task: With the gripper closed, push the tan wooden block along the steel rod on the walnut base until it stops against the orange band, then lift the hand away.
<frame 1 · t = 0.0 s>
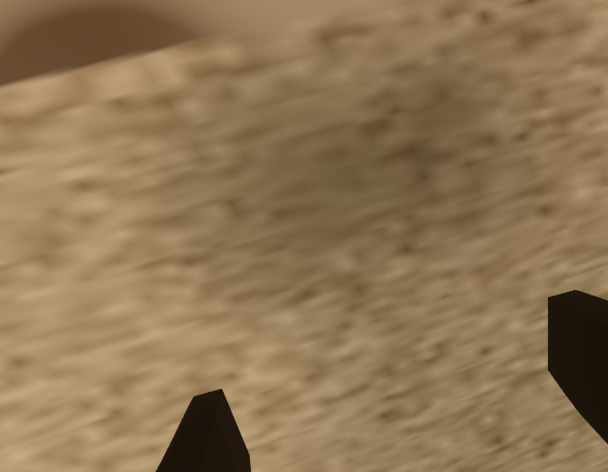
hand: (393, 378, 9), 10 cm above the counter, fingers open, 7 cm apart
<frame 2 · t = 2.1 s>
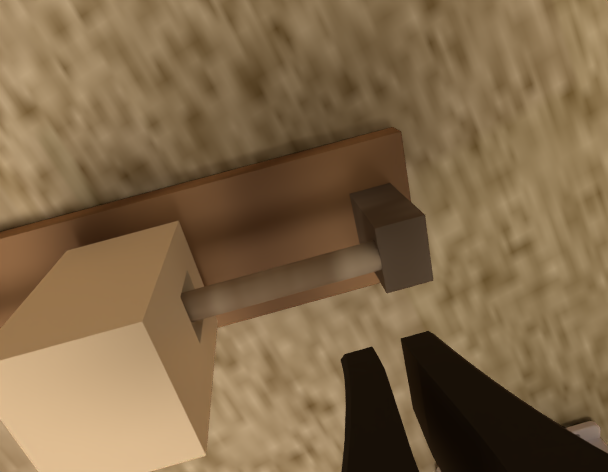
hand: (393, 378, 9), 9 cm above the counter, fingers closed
rod base: (131, 272, 18), on the counter
tan wooden block: (126, 338, 13), point 5 cm above the counter, slide at 0.0 cm
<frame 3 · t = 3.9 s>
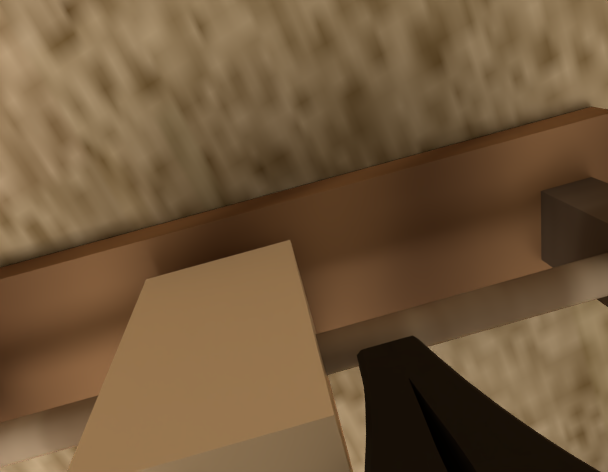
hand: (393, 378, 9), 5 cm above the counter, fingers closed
rod base: (254, 289, 14), on the counter
tan wooden block: (242, 404, 10), point 5 cm above the counter, slide at 1.4 cm, touching gripper
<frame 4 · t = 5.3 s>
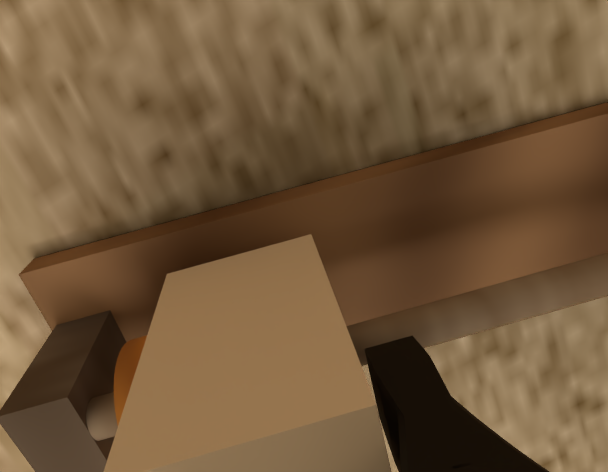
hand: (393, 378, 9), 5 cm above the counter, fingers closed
rod base: (435, 239, 14), on the counter
tan wooden block: (267, 397, 10), point 5 cm above the counter, slide at 7.0 cm, touching gripper, rod base
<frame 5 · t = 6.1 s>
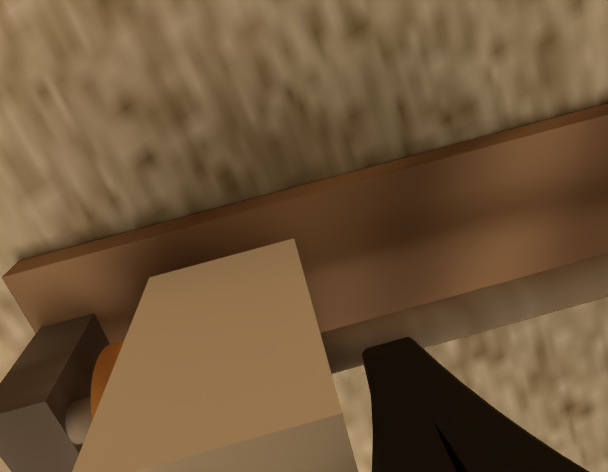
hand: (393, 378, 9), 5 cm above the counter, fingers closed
rod base: (421, 243, 14), on the counter
tan wooden block: (246, 402, 10), point 5 cm above the counter, slide at 7.0 cm, touching gripper, rod base
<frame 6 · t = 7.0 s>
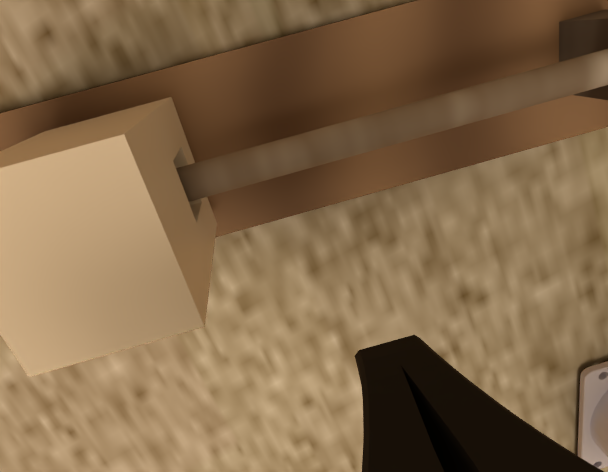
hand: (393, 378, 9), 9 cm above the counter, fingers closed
rod base: (304, 123, 16), on the counter
tan wooden block: (112, 213, 12), point 5 cm above the counter, slide at 7.0 cm, touching rod base
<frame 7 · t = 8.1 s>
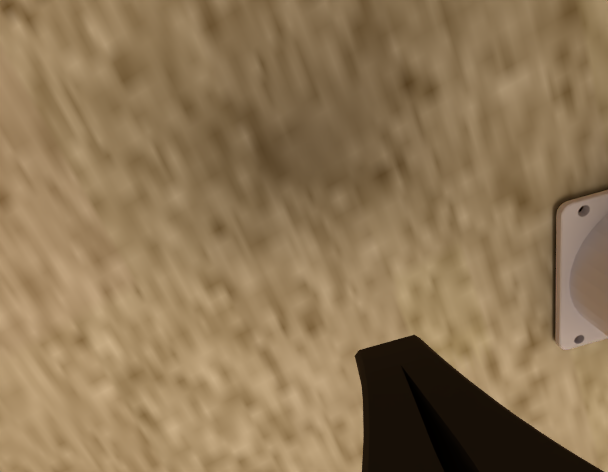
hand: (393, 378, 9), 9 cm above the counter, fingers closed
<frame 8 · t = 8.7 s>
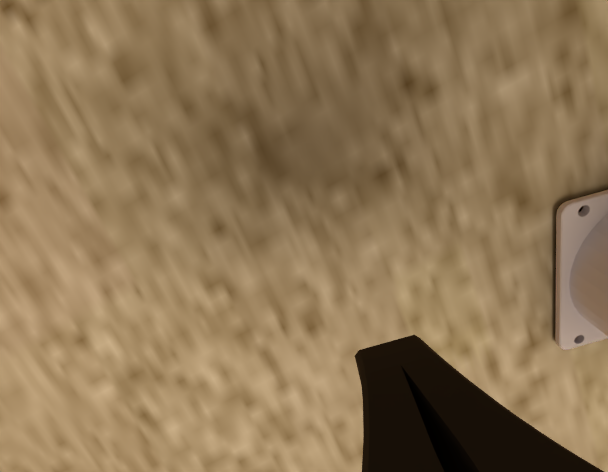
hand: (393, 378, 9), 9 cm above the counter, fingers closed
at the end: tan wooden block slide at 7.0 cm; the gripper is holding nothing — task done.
